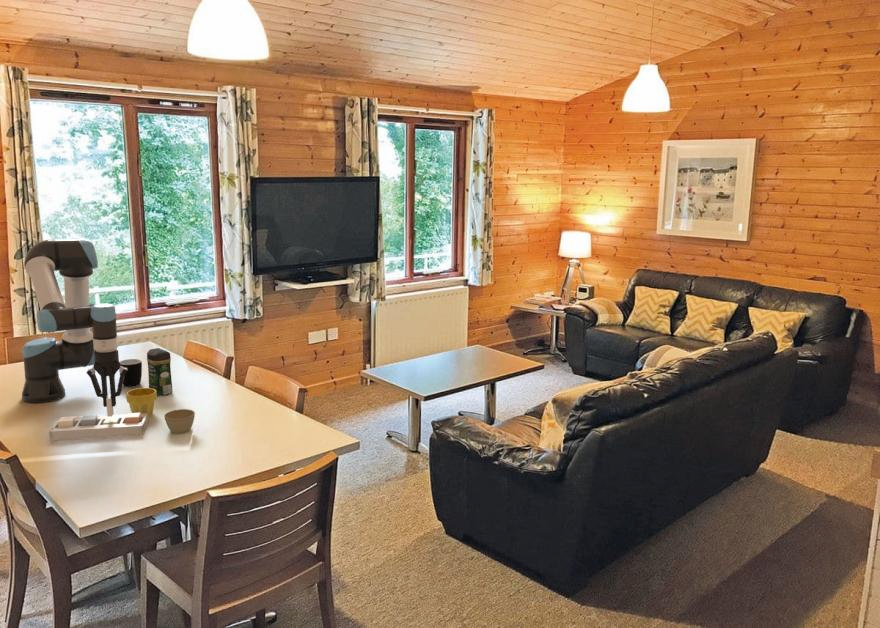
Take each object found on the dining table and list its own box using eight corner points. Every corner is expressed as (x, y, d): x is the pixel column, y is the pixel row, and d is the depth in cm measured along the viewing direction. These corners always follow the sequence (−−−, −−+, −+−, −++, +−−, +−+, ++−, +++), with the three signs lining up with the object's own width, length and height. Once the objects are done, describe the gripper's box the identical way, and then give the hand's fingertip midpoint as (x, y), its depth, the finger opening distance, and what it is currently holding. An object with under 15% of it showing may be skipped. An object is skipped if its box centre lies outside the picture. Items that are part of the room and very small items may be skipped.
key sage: (103, 429, 244) (103, 422, 244) (106, 425, 248) (105, 418, 248) (117, 428, 245) (116, 422, 245) (119, 424, 250) (119, 417, 249)
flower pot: (165, 429, 251) (164, 410, 250) (195, 426, 255) (194, 407, 253) (165, 440, 242) (164, 420, 241) (196, 436, 246) (195, 417, 244)
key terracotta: (125, 424, 246) (124, 417, 245) (127, 420, 250) (126, 413, 249) (138, 423, 247) (138, 416, 246) (140, 419, 251) (140, 412, 250)
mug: (146, 385, 301) (144, 362, 299) (124, 389, 295) (122, 365, 293) (136, 378, 310) (134, 356, 308) (114, 382, 304) (113, 359, 302)
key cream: (58, 428, 240) (57, 421, 240) (61, 424, 245) (61, 417, 244) (72, 427, 242) (72, 420, 241) (75, 423, 246) (75, 416, 245)
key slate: (81, 427, 242) (80, 420, 242) (83, 422, 246) (83, 415, 246) (95, 426, 243) (94, 419, 243) (97, 421, 248) (97, 415, 247)
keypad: (50, 443, 237) (48, 431, 236) (60, 429, 249) (59, 418, 248) (143, 437, 244) (142, 425, 243) (148, 424, 256) (147, 413, 255)
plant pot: (164, 415, 265) (162, 390, 263) (140, 423, 257) (138, 397, 255) (145, 410, 270) (144, 385, 269) (121, 418, 262) (119, 392, 260)
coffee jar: (146, 392, 291) (143, 348, 288) (164, 388, 297) (162, 345, 293) (156, 398, 285) (153, 353, 281) (175, 394, 290) (173, 350, 287)
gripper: (82, 353, 236) (87, 420, 241) (124, 351, 239) (129, 417, 244) (87, 347, 243) (92, 412, 248) (128, 346, 247) (132, 410, 252)
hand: (110, 415), depth 246 cm, fingers closed
